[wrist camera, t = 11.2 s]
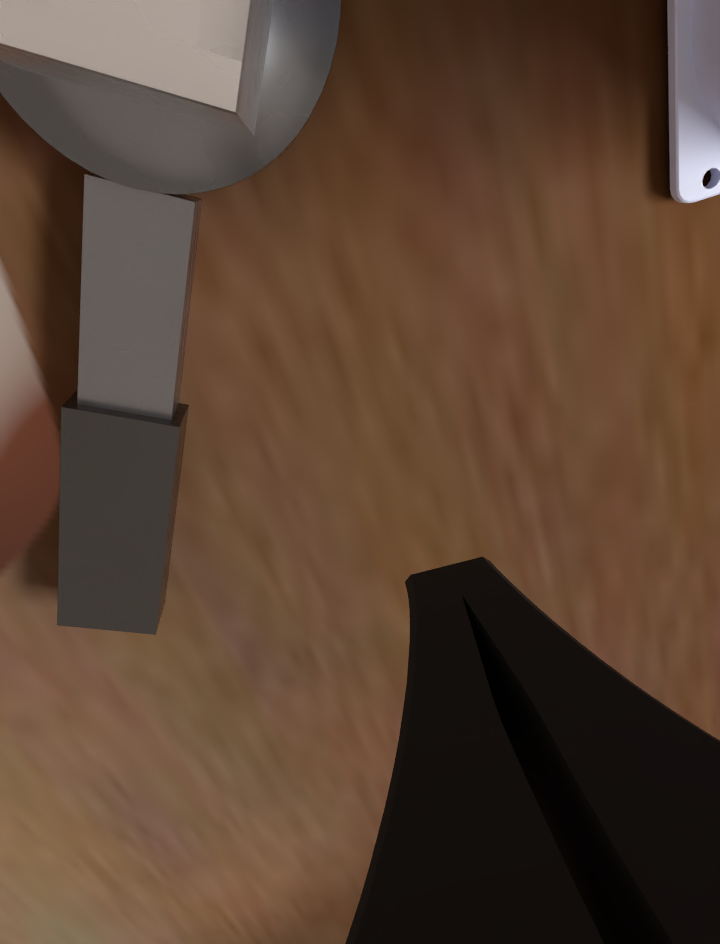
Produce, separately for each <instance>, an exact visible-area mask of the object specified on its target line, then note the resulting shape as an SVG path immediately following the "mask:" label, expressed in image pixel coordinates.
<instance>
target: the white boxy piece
mask: <svg viewBox="0 0 720 944" xmlns="http://www.w3.org/2000/svg"><path fill="white" fill-rule="evenodd" d="M273 4H274V0H0V61H2V62H4V63H7V64H10V65H12V66H15V67H17V68H20V69H23V70H26V71H30V72H33V73H37V74H40V75H44V76H47V77H51V78H54V79H58V80H61V81H65V82H68V83H72V84H75V85H79V86H82V87H86V88H89V89H93V90H96V91H100V92H103V93H106V94H110V95H113V96H117V97H120V98H124V99H127V100H131V101H134V102H138V103H141V104H145V105H148V106H152V107H155V108H159V109H162V110H166V111H169V112H173V113H176V114H180V115H183V116H187V117H190V118H194V119H197V120H201V121H204V122H208V123H211V124H214V125H218V126H221V127H225V128H228V129H232V130H235V131H239V132H242V133H246V134H249V135H253V136H254V135H255V128H256V121H257V114H258V107H259V100H260V93H261V86H262V80H263V73H264V66H265V59H266V52H267V45H268V38H269V32H270V25H271V18H272V11H273Z"/></svg>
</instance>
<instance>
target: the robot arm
mask: <svg viewBox="0 0 720 944" xmlns="http://www.w3.org/2000/svg"><path fill="white" fill-rule="evenodd" d="M667 11H668V82H669V153H670V191H671V196H672V197H673V198H674V200H675V201H678V202H680V203H693V202H696V201H699V200H703V199H706V198H709V197H712V196H715V195H718V194H720V0H667ZM708 170H710V172H711V179H710V182H709V183H708V185H707V186H705V187H704V186H703V183H702V180H703V176H704V174H705V173H706V172H707V171H708ZM405 584H406V588H407V592H408V598H409V608H410V646H409V661H408V676H407V686H406V694H405V701H404V708H403V715H402V722H401V729H400V736H399V742H398V747H397V752H396V758H395V763H394V768H393V773H392V778H391V782H390V787H389V791H388V796H387V800H386V805H385V809H384V813H383V817H382V821H381V825H380V829H379V832H378V836H377V840H376V844H375V848H374V852H373V855H372V859H371V863H370V867H369V870H368V874H367V877H366V881H365V884H364V888H363V891H362V894H361V898H360V901H359V904H358V907H357V910H356V913H355V916H354V919H353V923H352V926H351V929H350V932H349V935H348V938H347V941H346V944H720V740H718V739H716V738H715V737H713V736H711V735H710V734H708V733H707V732H705V731H703V730H702V729H700V728H699V727H697V726H696V725H694V724H693V723H691V722H689V721H688V720H686V719H685V718H683V717H682V716H680V715H679V714H677V713H676V712H674V711H672V710H671V709H669V708H668V707H666V706H665V705H664V704H662V703H661V702H659V701H658V700H656V699H655V698H653V697H652V696H650V695H649V694H648V693H646V692H645V691H643V690H642V689H640V688H639V687H638V686H636V685H635V684H633V683H632V682H631V681H629V680H628V679H627V678H625V677H624V676H623V675H621V674H620V673H618V672H617V671H616V670H614V669H613V668H612V667H610V666H609V665H608V664H606V663H605V662H604V661H602V660H601V659H600V658H598V657H597V656H596V655H595V654H593V653H592V652H591V651H589V650H588V649H587V648H586V647H584V646H583V645H582V644H581V643H579V642H578V641H577V640H576V639H575V638H573V637H572V636H571V635H570V634H569V633H567V632H566V631H565V630H564V629H563V628H561V627H560V626H559V625H558V624H556V623H555V622H554V621H553V620H552V619H550V618H549V617H548V616H547V615H546V614H545V613H544V612H542V611H541V610H540V609H539V608H538V607H537V606H536V605H535V604H533V603H532V602H531V601H530V600H529V599H528V598H527V597H526V596H525V595H524V594H523V593H521V592H520V591H519V590H518V589H517V588H516V587H515V586H514V585H513V584H512V583H511V582H510V581H509V580H508V579H507V578H506V577H505V576H504V575H503V574H502V573H501V572H500V571H499V570H498V569H497V568H496V567H495V566H494V565H493V564H492V563H491V562H490V561H489V560H487V559H485V558H484V557H480V558H476V559H472V560H468V561H464V562H460V563H456V564H452V565H448V566H444V567H440V568H436V569H432V570H428V571H424V572H420V573H416V574H412V575H410V576H409V578H408V579H407V580H406V582H405Z"/></svg>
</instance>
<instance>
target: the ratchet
mask: <svg viewBox="0 0 720 944" xmlns="http://www.w3.org/2000/svg"><path fill="white" fill-rule="evenodd" d="M340 14H341V0H274V4H273V11H272V18H271V25H270V32H269V38H268V45H267V52H266V59H265V66H264V73H263V80H262V86H261V93H260V100H259V107H258V114H257V121H256V128H255V135H254V136H253V135H249V134H246V133H242V132H239V131H235V130H232V129H228V128H225V127H221V126H218V125H214V124H211V123H208V122H204V121H201V120H197V119H194V118H190V117H187V116H183V115H180V114H176V113H173V112H169V111H166V110H162V109H159V108H155V107H152V106H148V105H145V104H141V103H138V102H134V101H131V100H127V99H124V98H120V97H117V96H113V95H110V94H106V93H103V92H100V91H96V90H93V89H89V88H86V87H82V86H79V85H75V84H72V83H68V82H65V81H61V80H58V79H54V78H51V77H47V76H44V75H40V74H37V73H33V72H30V71H26V70H23V69H20V68H17V67H15V66H12V65H10V64H7V63H4V62H2V61H0V93H1V94H2V96H3V97H4V98H5V99H6V101H7V102H8V103H9V104H10V105H11V106H12V108H13V109H14V110H15V111H16V112H17V113H18V115H19V116H20V117H21V118H22V119H23V120H24V121H25V122H26V123H27V124H28V125H29V126H30V127H31V128H32V129H33V130H34V131H35V132H36V133H37V134H38V135H39V136H40V137H42V138H43V139H44V140H45V141H46V142H47V143H49V144H50V145H51V146H53V147H54V148H55V149H56V150H58V151H59V152H60V153H62V154H63V155H64V156H65V157H67V158H69V159H70V160H72V161H73V162H75V163H77V164H78V165H80V166H82V167H83V168H85V169H87V170H88V171H90V172H92V173H94V174H84V204H83V236H82V268H81V300H80V333H79V365H78V390H77V391H76V392H75V393H74V394H73V395H72V396H71V397H70V398H69V399H68V400H67V401H66V403H65V404H64V405H63V406H62V407H61V447H60V502H59V556H58V611H57V625H60V626H71V627H81V628H92V629H102V630H113V631H123V632H134V633H144V634H155V635H156V632H157V628H158V625H159V621H160V617H161V614H162V610H163V606H164V603H165V597H166V589H167V581H168V572H169V564H170V556H171V547H172V539H173V531H174V522H175V514H176V506H177V498H178V489H179V481H180V473H181V464H182V456H183V448H184V440H185V431H186V423H187V415H188V406H189V405H185V404H180V403H179V398H180V389H181V381H182V372H183V363H184V354H185V345H186V336H187V327H188V319H189V310H190V301H191V292H192V283H193V274H194V265H195V256H196V248H197V239H198V230H199V221H200V212H201V203H202V200H201V199H197V198H193V197H189V196H185V195H181V194H190V193H200V192H206V191H210V190H214V189H218V188H222V187H226V186H230V185H233V184H235V183H237V182H240V181H242V180H245V179H247V178H249V177H251V176H252V175H254V174H256V173H257V172H259V171H261V170H262V169H264V168H266V167H267V166H268V165H269V164H270V163H272V162H273V161H274V160H275V159H276V158H278V157H279V156H280V155H281V154H282V153H283V152H284V151H285V150H286V149H287V148H288V146H289V145H290V144H291V143H292V142H293V141H294V140H295V138H296V137H297V135H298V134H299V133H300V131H301V130H302V128H303V127H304V125H305V124H306V122H307V120H308V119H309V117H310V115H311V113H312V111H313V109H314V107H315V105H316V103H317V101H318V99H319V97H320V95H321V92H322V90H323V87H324V84H325V82H326V79H327V76H328V74H329V71H330V68H331V64H332V60H333V55H334V51H335V47H336V43H337V37H338V29H339V21H340Z"/></svg>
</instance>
